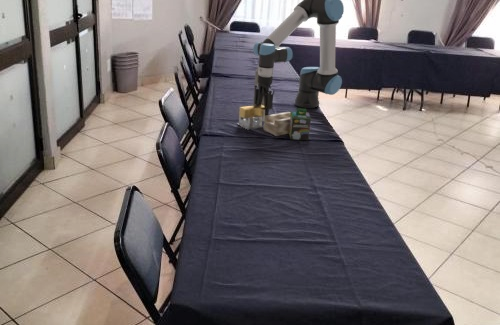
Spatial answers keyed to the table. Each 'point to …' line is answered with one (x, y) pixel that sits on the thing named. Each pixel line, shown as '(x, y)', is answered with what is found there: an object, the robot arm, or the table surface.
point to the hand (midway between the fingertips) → (261, 119)
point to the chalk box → (299, 125)
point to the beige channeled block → (277, 123)
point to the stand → (250, 122)
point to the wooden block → (251, 111)
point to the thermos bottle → (257, 84)
